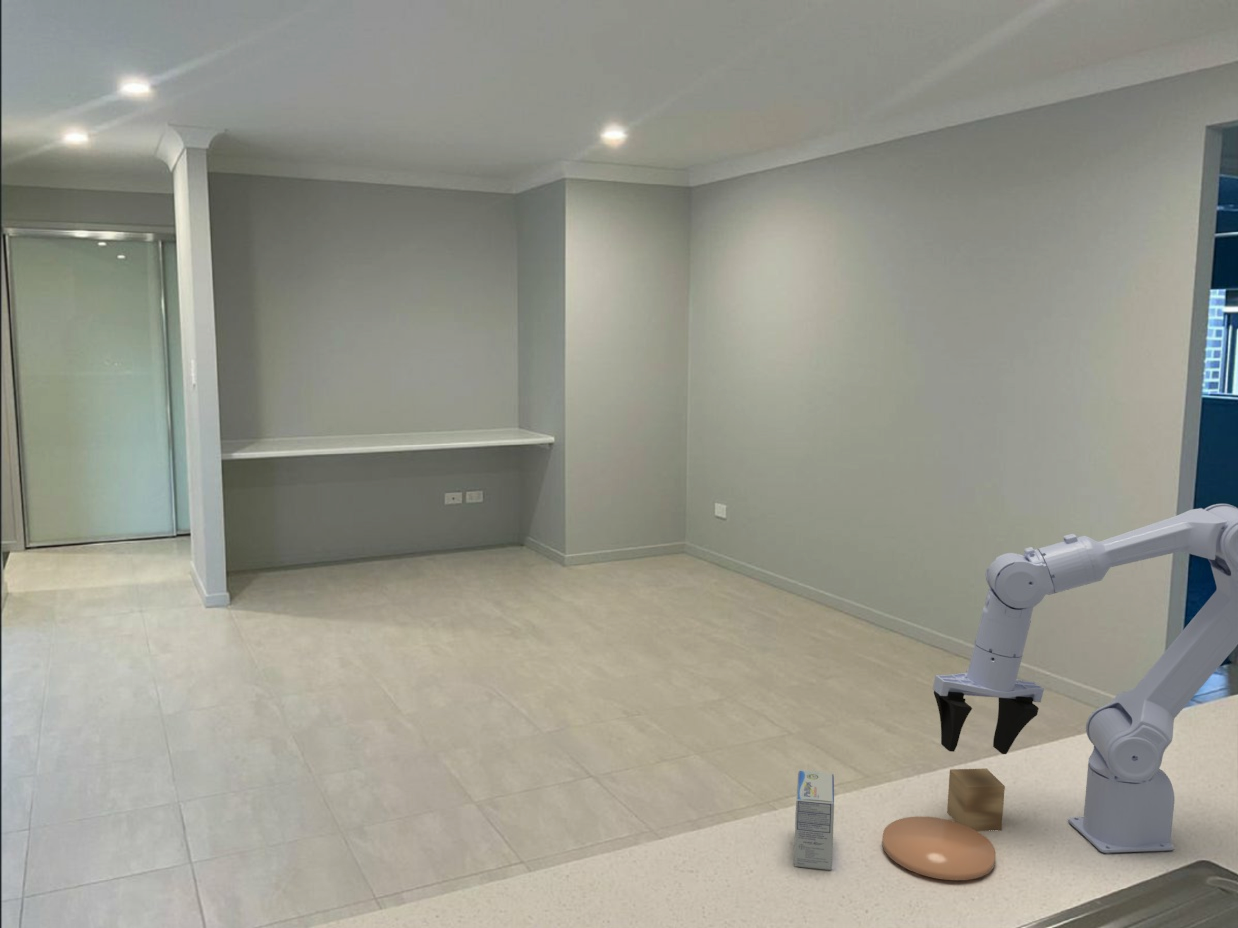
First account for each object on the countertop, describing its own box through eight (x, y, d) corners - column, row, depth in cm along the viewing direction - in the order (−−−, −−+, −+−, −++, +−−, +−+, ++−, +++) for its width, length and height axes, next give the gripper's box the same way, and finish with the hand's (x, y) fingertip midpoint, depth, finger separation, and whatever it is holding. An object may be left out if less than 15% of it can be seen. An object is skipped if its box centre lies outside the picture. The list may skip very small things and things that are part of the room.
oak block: (983, 811, 131) (986, 768, 130) (1001, 830, 126) (1004, 785, 125) (946, 812, 131) (949, 769, 130) (963, 831, 126) (966, 787, 125)
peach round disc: (965, 824, 127) (966, 814, 127) (1015, 881, 114) (1016, 870, 114) (867, 828, 126) (867, 817, 126) (905, 886, 113) (906, 874, 113)
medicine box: (831, 872, 116) (835, 802, 115) (793, 867, 117) (796, 798, 116) (831, 837, 124) (834, 772, 122) (795, 833, 125) (797, 768, 123)
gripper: (1028, 641, 130) (1004, 737, 132) (930, 632, 126) (907, 731, 129) (1063, 662, 123) (1037, 763, 126) (961, 654, 120) (936, 758, 122)
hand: (973, 749), depth 127 cm, fingers open, 7 cm apart
